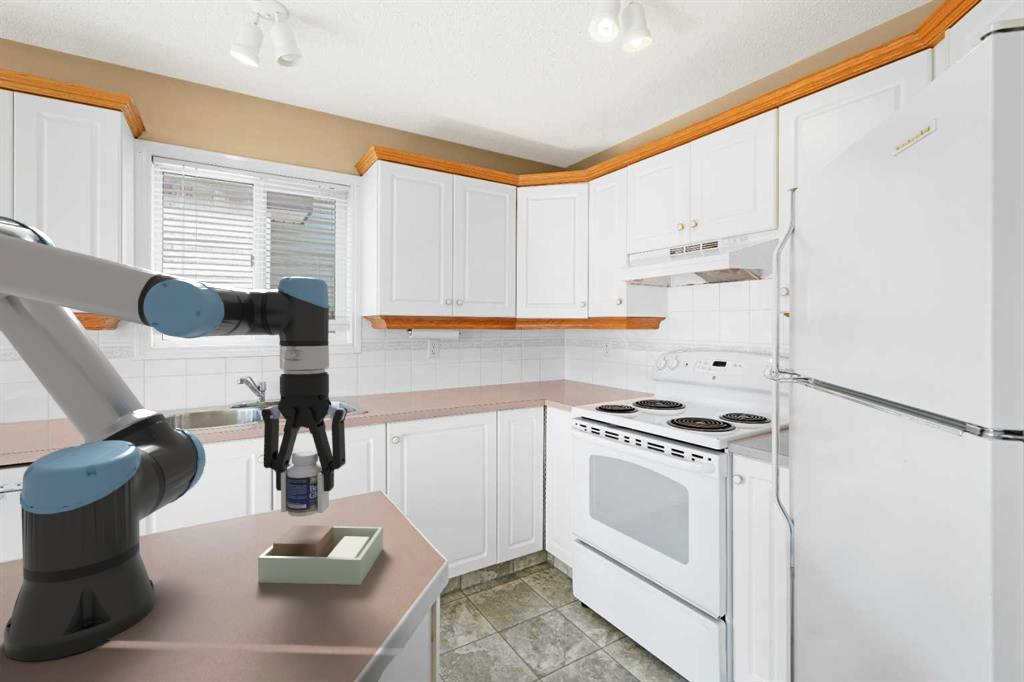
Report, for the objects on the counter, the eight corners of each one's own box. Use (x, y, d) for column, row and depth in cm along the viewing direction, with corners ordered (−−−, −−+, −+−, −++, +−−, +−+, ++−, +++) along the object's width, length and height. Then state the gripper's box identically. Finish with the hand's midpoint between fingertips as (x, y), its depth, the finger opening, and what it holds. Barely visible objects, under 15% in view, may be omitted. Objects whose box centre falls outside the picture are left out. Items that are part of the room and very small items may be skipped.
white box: (325, 576, 76) (325, 558, 76) (344, 553, 84) (344, 536, 84) (353, 577, 76) (353, 559, 76) (369, 553, 84) (369, 536, 84)
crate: (258, 585, 74) (258, 557, 74) (294, 549, 86) (294, 525, 86) (360, 588, 74) (360, 559, 73) (382, 551, 86) (382, 527, 85)
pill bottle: (314, 517, 77) (314, 457, 76) (281, 517, 77) (280, 457, 77) (327, 505, 82) (327, 449, 82) (296, 504, 82) (296, 448, 82)
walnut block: (272, 573, 76) (272, 543, 76) (293, 553, 83) (293, 525, 83) (316, 575, 76) (316, 544, 76) (333, 554, 83) (333, 526, 83)
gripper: (236, 372, 75) (237, 517, 76) (351, 374, 75) (351, 519, 76) (262, 368, 83) (263, 500, 83) (367, 369, 82) (367, 502, 83)
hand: (305, 509), depth 80 cm, fingers closed on pill bottle, 5 cm apart
